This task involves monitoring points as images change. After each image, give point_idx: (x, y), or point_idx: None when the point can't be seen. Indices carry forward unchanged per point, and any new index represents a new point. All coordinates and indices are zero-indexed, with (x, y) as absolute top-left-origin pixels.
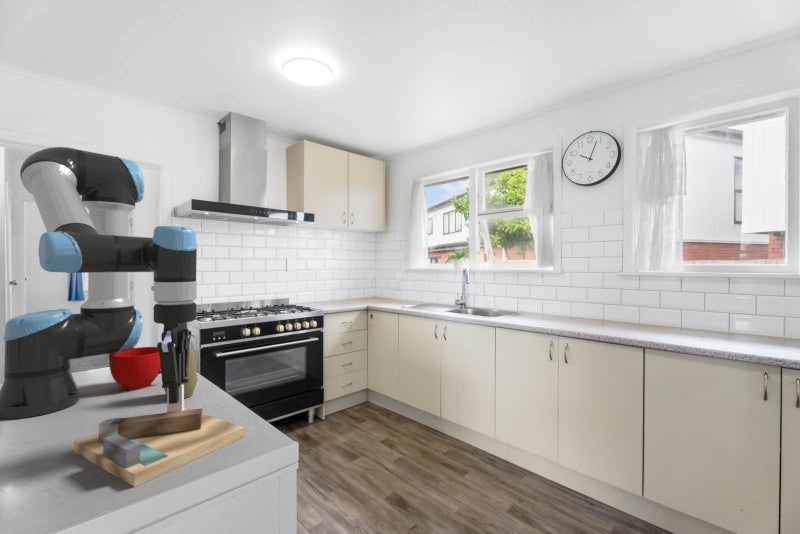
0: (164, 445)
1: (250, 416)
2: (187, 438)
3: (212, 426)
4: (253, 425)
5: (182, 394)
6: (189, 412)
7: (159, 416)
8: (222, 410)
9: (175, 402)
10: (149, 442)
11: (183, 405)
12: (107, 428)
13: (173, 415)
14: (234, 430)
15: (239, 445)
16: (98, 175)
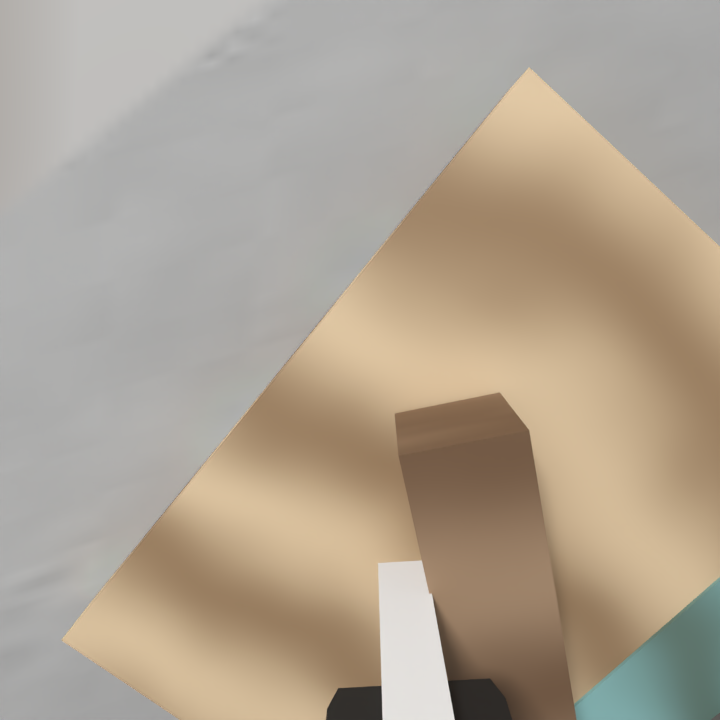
0: (698, 523)
1: (135, 133)
2: (630, 425)
3: (463, 323)
4: (311, 65)
5: (435, 708)
6: (484, 525)
7: (520, 703)
8: (13, 376)
9: (496, 695)
10: (629, 617)
11: (392, 616)
12: None
13: (523, 619)
14: (577, 130)
15: (634, 87)
16: None
